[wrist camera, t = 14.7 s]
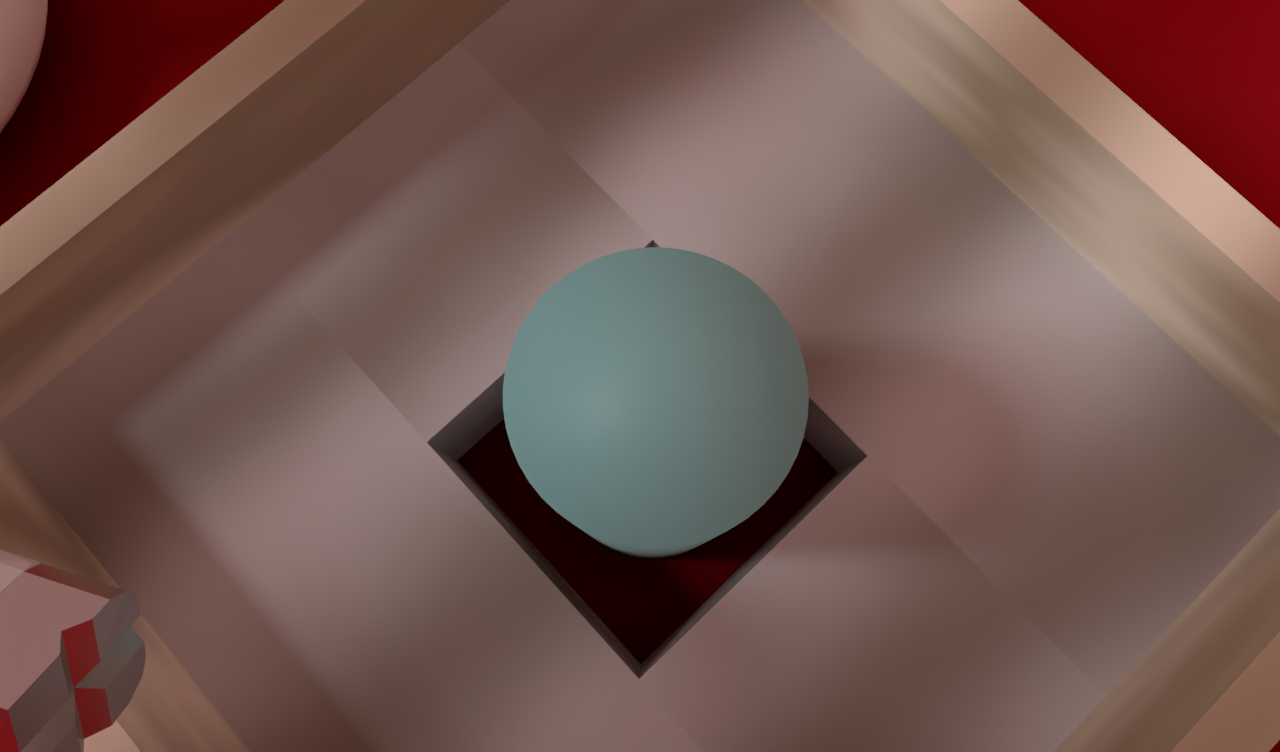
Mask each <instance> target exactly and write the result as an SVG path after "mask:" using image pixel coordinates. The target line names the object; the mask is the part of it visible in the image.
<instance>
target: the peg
mask: <svg viewBox="0 0 1280 752" xmlns="http://www.w3.org/2000/svg"><path fill="white" fill-rule="evenodd" d="M808 405H809V391H808V378H807V373H806V368H805V363H804V358H803V355H802V353H801V350H800V347H799V344H798V341H797V339H796V337H795V335H794V333H793V331H792V329H791V327H790V325H789V323H788V321H787V320H786V318H785V317H784V315H783V314H782V312H781V311H780V309H779V308H778V307H777V305H776V304H775V303H774V302H773V301H772V300H771V299H770V297H769V296H768V295H767V294H766V293H765V292H764V291H763V290H762V289H761V288H760V287H758V286H757V285H756V284H755V283H754V282H753V281H752V280H750V279H749V278H748V277H746V276H745V275H743V274H742V273H740V272H739V271H737V270H736V269H734V268H732V267H730V266H728V265H726V264H724V263H722V262H720V261H718V260H716V259H714V258H711V257H708V256H705V255H702V254H700V253H696V252H691V251H687V250H682V249H675V248H664V247H648V248H636V249H630V250H623V251H619V252H616V253H612V254H609V255H605V256H602V257H600V258H598V259H595V260H593V261H591V262H588V263H586V264H584V265H582V266H581V267H579V268H577V269H576V270H574V271H572V272H571V273H569V274H567V275H566V276H565V277H564V278H562V279H561V280H560V281H558V282H557V283H556V284H555V285H553V286H552V287H551V288H550V289H549V290H548V291H547V292H546V293H545V294H544V295H543V296H542V297H541V298H540V299H539V301H538V302H537V303H536V305H535V306H534V307H533V308H532V310H531V311H530V312H529V314H528V315H527V317H526V319H525V320H524V322H523V324H522V325H521V327H520V329H519V331H518V333H517V335H516V337H515V340H514V342H513V345H512V347H511V350H510V353H509V357H508V361H507V364H506V368H505V375H504V383H503V412H504V419H505V427H506V430H507V434H508V438H509V441H510V445H511V448H512V450H513V452H514V455H515V457H516V459H517V462H518V464H519V466H520V468H521V469H522V471H523V473H524V474H525V476H526V478H527V479H528V481H529V483H530V484H531V485H532V486H533V488H534V489H535V490H536V491H537V493H538V494H539V495H540V496H541V498H542V499H543V500H544V501H545V502H546V503H547V504H549V505H550V506H551V507H552V508H553V509H554V510H555V511H556V512H557V513H558V514H560V515H561V516H562V517H564V518H565V519H567V520H568V521H569V522H571V523H572V524H573V525H575V526H576V527H578V528H579V529H581V530H582V531H584V532H585V533H587V534H588V535H590V536H591V537H593V538H594V539H596V540H597V541H599V542H600V543H602V544H603V545H605V546H607V547H608V548H610V549H612V550H614V551H616V552H619V553H622V554H624V555H628V556H632V557H636V558H644V559H661V558H667V557H673V556H676V555H680V554H683V553H685V552H688V551H690V550H692V549H694V548H696V547H698V546H700V545H702V544H704V543H705V542H707V541H709V540H711V539H713V538H715V537H717V536H719V535H721V534H722V533H724V532H726V531H728V530H730V529H732V528H733V527H735V526H736V525H738V524H740V523H741V522H743V521H744V520H746V519H747V518H749V517H750V516H751V515H752V514H753V513H755V512H756V511H757V510H758V509H759V508H761V507H762V506H763V505H764V504H765V503H766V502H767V500H768V499H769V498H770V497H771V496H772V495H773V494H774V493H775V492H776V491H777V489H778V488H779V486H780V485H781V483H782V482H783V480H784V479H785V478H786V476H787V475H788V473H789V471H790V469H791V467H792V465H793V463H794V461H795V459H796V457H797V455H798V452H799V449H800V446H801V443H802V440H803V438H804V433H805V428H806V423H807V418H808Z"/></svg>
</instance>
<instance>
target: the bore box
mask: <svg viewBox="0 0 1280 752" xmlns="http://www.w3.org/2000/svg"><path fill="white" fill-rule="evenodd" d="M648 247H664V248H675V249H682V250H687V251H691V252H696V253H700V254H702V255H705V256H708V257H711V258H714V259H716V260H718V261H720V262H722V263H724V264H726V265H728V266H730V267H732V268H734V269H736V270H737V271H739V272H740V273H742V274H743V275H745V276H746V277H748V278H749V279H750V280H752V281H753V282H754V283H755V284H756V285H757V286H758V287H760V288H761V289H762V290H763V291H764V292H765V293H766V294H767V295H768V296H769V297H770V299H771V300H772V301H773V302H774V303H775V304H776V305H777V307H778V308H779V309H780V311H781V312H782V314H783V315H784V317H785V318H786V320H787V321H788V323H789V325H790V327H791V329H792V331H793V333H794V335H795V337H796V339H797V341H798V344H799V347H800V350H801V353H802V355H803V358H804V363H805V368H806V373H807V378H808V391H809V405H808V418H807V423H806V428H805V433H804V439H805V440H806V441H807V442H808V443H809V444H810V445H811V446H812V447H813V448H814V449H815V450H816V451H817V452H818V453H819V454H820V455H821V456H822V457H823V458H824V459H825V460H826V461H827V462H828V463H829V464H830V465H831V466H832V467H833V468H834V469H835V470H836V471H837V473H836V474H835V475H834V476H833V477H832V478H831V479H830V480H829V481H828V482H827V483H826V484H825V485H824V486H823V487H822V488H821V489H820V490H819V491H818V492H817V493H816V494H815V495H814V496H813V497H812V498H811V499H810V500H809V501H808V502H807V503H806V504H805V505H804V506H803V507H802V508H800V509H799V510H798V511H797V512H796V513H795V514H794V515H793V516H792V517H791V518H790V519H789V520H788V521H787V522H786V523H785V524H784V525H783V526H782V527H781V528H780V529H779V530H778V531H777V532H776V533H775V534H774V535H773V536H772V537H771V538H770V539H769V540H768V541H767V542H766V543H765V544H764V545H763V546H761V547H760V548H759V549H758V550H757V551H756V552H755V553H754V554H753V555H752V556H751V557H750V558H749V559H748V560H747V561H746V562H745V563H744V564H743V565H742V566H741V567H740V568H739V569H738V570H737V571H736V572H735V573H734V574H733V575H732V576H731V577H730V578H729V579H728V580H727V581H726V582H725V583H724V584H722V585H721V586H720V587H719V588H718V589H717V590H716V591H715V592H714V593H713V594H712V595H711V596H710V597H709V598H708V599H707V600H706V601H705V602H704V603H703V604H702V605H701V606H700V607H699V608H698V609H697V610H696V611H695V612H694V613H693V614H692V615H691V616H690V617H689V618H688V619H687V620H686V621H685V622H683V623H682V624H681V625H680V626H679V627H678V628H677V629H676V630H675V631H674V632H673V633H672V634H671V635H670V636H669V637H668V638H667V639H666V640H665V641H664V642H663V643H662V644H661V645H660V646H659V647H658V648H657V649H656V650H655V651H654V652H653V653H652V654H651V655H650V656H649V657H648V658H647V659H646V660H644V661H643V662H642V663H641V664H640V663H639V662H638V660H637V659H636V658H635V657H634V656H633V655H632V654H631V653H630V652H629V650H628V649H627V648H626V647H625V646H624V645H623V644H622V643H621V642H620V640H619V639H618V638H617V637H616V636H615V635H614V634H613V633H612V632H611V630H610V629H609V628H608V627H607V626H606V625H605V624H604V623H603V622H602V620H601V619H600V618H599V617H598V616H597V615H596V614H595V613H594V612H593V610H592V609H591V608H590V607H589V606H588V605H587V604H586V603H585V602H584V600H583V599H582V598H581V597H580V596H579V595H578V594H577V593H576V592H575V590H574V589H573V588H572V587H571V586H570V585H569V584H568V583H567V582H566V580H565V579H564V578H563V577H562V576H561V575H560V574H559V573H558V572H557V570H556V569H555V568H554V567H553V566H552V565H551V564H550V563H549V562H548V560H547V559H546V558H545V557H544V556H543V555H542V554H541V553H540V552H539V550H538V549H537V548H536V547H535V546H534V545H533V544H532V543H531V542H530V540H529V539H528V538H527V537H526V536H525V535H524V534H523V533H522V532H521V530H520V529H519V528H518V527H517V526H516V525H515V524H514V523H513V522H512V520H511V519H510V518H509V517H508V516H507V515H506V514H505V513H504V512H503V510H502V509H501V508H500V507H499V506H498V505H497V504H496V503H495V502H494V500H493V499H492V498H491V497H490V496H489V495H488V494H487V493H486V492H485V490H484V489H483V488H482V487H481V486H480V485H479V484H478V483H477V482H476V480H475V479H474V478H473V477H472V476H471V475H470V474H469V473H468V472H467V470H466V469H465V468H464V467H463V466H462V465H461V464H460V463H459V462H458V460H459V459H460V458H461V457H462V456H463V455H464V454H465V453H466V452H467V451H469V450H470V449H471V448H472V447H473V446H474V445H475V444H476V443H477V442H478V441H480V440H481V439H482V438H483V437H484V436H485V435H486V434H487V433H488V432H490V431H491V430H492V429H493V428H494V427H495V426H496V425H497V424H498V423H499V422H501V421H502V420H503V419H504V412H503V383H504V375H505V368H506V364H507V361H508V357H509V353H510V350H511V347H512V345H513V342H514V340H515V337H516V335H517V333H518V331H519V329H520V327H521V325H522V324H523V322H524V320H525V319H526V317H527V315H528V314H529V312H530V311H531V310H532V308H533V307H534V306H535V305H536V303H537V302H538V301H539V299H540V298H541V297H542V296H543V295H544V294H545V293H546V292H547V291H548V290H549V289H550V288H551V287H552V286H553V285H555V284H556V283H557V282H558V281H560V280H561V279H562V278H564V277H565V276H566V275H567V274H569V273H571V272H572V271H574V270H576V269H577V268H579V267H581V266H582V265H584V264H586V263H588V262H591V261H593V260H595V259H598V258H600V257H602V256H605V255H609V254H612V253H616V252H619V251H623V250H630V249H636V248H648ZM0 550H4V551H7V552H10V553H13V554H16V555H20V556H23V557H26V558H29V559H33V560H36V561H39V562H42V563H45V564H48V565H49V566H52V567H55V568H59V569H62V570H65V571H68V572H71V573H74V574H77V575H80V576H83V577H86V578H89V579H92V580H95V581H98V582H101V583H105V584H108V585H111V586H114V587H117V588H120V589H123V590H126V591H129V592H132V593H135V594H136V595H137V600H138V605H139V610H140V614H141V615H140V616H139V617H138V618H137V619H136V620H135V622H134V623H133V624H132V625H131V626H132V628H133V629H134V630H135V631H136V632H137V634H138V635H139V636H140V637H141V638H142V640H143V641H144V644H145V652H146V660H145V665H144V671H143V676H142V678H141V680H140V682H139V684H138V686H137V688H136V691H135V693H134V695H133V697H132V699H131V701H130V703H129V704H128V705H127V707H126V708H125V709H124V711H123V712H122V713H121V714H120V716H119V717H118V718H117V720H116V721H115V722H114V724H113V725H112V726H110V727H108V728H106V729H104V730H102V731H100V732H98V733H96V734H94V735H92V736H89V737H87V738H85V739H84V752H1269V751H1270V750H1271V749H1272V748H1273V747H1274V746H1275V745H1276V744H1277V742H1278V741H1279V740H1280V229H1279V228H1278V227H1277V226H1276V225H1274V224H1273V223H1272V222H1271V221H1270V220H1269V219H1268V218H1266V217H1265V216H1264V215H1263V214H1262V213H1261V212H1260V211H1258V210H1257V209H1256V208H1255V207H1254V206H1253V205H1252V204H1250V203H1249V202H1248V201H1247V200H1246V199H1245V198H1244V197H1242V196H1241V195H1240V194H1239V193H1238V192H1237V191H1236V190H1234V189H1233V188H1232V187H1231V186H1230V185H1229V184H1228V183H1226V182H1225V181H1224V180H1223V179H1222V178H1221V177H1220V176H1218V175H1217V174H1216V173H1215V172H1214V171H1213V170H1212V169H1210V168H1209V167H1208V166H1207V165H1206V164H1205V163H1204V162H1202V161H1201V160H1200V159H1199V158H1198V157H1197V156H1196V155H1194V154H1193V153H1192V152H1191V151H1190V150H1189V149H1187V148H1186V147H1185V146H1184V145H1183V144H1182V143H1181V142H1179V141H1178V140H1177V139H1176V138H1175V137H1174V136H1173V135H1171V134H1170V133H1169V132H1168V131H1167V130H1166V129H1165V128H1163V127H1162V126H1161V125H1160V124H1159V123H1158V122H1157V121H1155V120H1154V119H1153V118H1152V117H1151V116H1150V115H1149V114H1147V113H1146V112H1145V111H1144V110H1143V109H1142V108H1141V107H1139V106H1138V105H1137V104H1136V103H1135V102H1134V101H1133V100H1131V99H1130V98H1129V97H1128V96H1127V95H1126V94H1125V93H1123V92H1122V91H1121V90H1120V89H1119V88H1118V87H1117V86H1115V85H1114V84H1113V83H1112V82H1111V81H1110V80H1109V79H1107V78H1106V77H1105V76H1104V75H1103V74H1102V73H1100V72H1099V71H1098V70H1097V69H1096V68H1095V67H1094V66H1092V65H1091V64H1090V63H1089V62H1088V61H1087V60H1086V59H1084V58H1083V57H1082V56H1081V55H1080V54H1079V53H1078V52H1076V51H1075V50H1074V49H1073V48H1072V47H1071V46H1070V45H1068V44H1067V43H1066V42H1065V41H1064V40H1063V39H1062V38H1060V37H1059V36H1058V35H1057V34H1056V33H1055V32H1054V31H1052V30H1051V29H1050V28H1049V27H1048V26H1047V25H1046V24H1044V23H1043V22H1042V21H1041V20H1040V19H1039V18H1038V17H1036V16H1035V15H1034V14H1033V13H1032V12H1031V11H1030V10H1028V9H1027V8H1026V7H1025V6H1024V5H1023V4H1021V3H1020V2H1019V1H1018V0H285V1H283V2H282V3H281V4H280V5H278V6H277V7H276V8H275V9H273V10H272V11H271V12H270V13H268V14H267V15H266V16H265V17H263V18H262V19H261V20H260V21H258V22H257V23H256V24H254V25H253V26H252V27H251V28H249V29H248V30H247V31H246V32H244V33H243V34H242V35H241V36H239V37H238V38H237V39H236V40H234V41H233V42H232V43H231V44H229V45H228V46H227V47H226V48H224V49H223V50H222V51H221V52H219V53H218V54H217V55H215V56H214V57H213V58H212V59H210V60H209V61H208V62H207V63H205V64H204V65H203V66H202V67H200V68H199V69H198V70H197V71H195V72H194V73H193V74H192V75H190V76H189V77H188V78H187V79H185V80H184V81H183V82H182V83H180V84H179V85H178V86H176V87H175V88H174V89H173V90H171V91H170V92H169V93H168V94H166V95H165V96H164V97H163V98H161V99H160V100H159V101H158V102H156V103H155V104H154V105H153V106H151V107H150V108H149V109H148V110H146V111H145V112H144V113H143V114H141V115H140V116H139V117H137V118H136V119H135V120H134V121H132V122H131V123H130V124H129V125H127V126H126V127H125V128H124V129H122V130H121V131H120V132H119V133H117V134H116V135H115V136H114V137H112V138H111V139H110V140H109V141H107V142H106V143H105V144H104V145H102V146H101V147H100V148H98V149H97V150H96V151H95V152H93V153H92V154H91V155H90V156H88V157H87V158H86V159H85V160H83V161H82V162H81V163H80V164H78V165H77V166H76V167H75V168H73V169H72V170H71V171H70V172H68V173H67V174H66V175H64V176H63V177H62V178H61V179H59V180H58V181H57V182H56V183H54V184H53V185H52V186H51V187H49V188H48V189H47V190H46V191H44V192H43V193H42V194H41V195H39V196H38V197H37V198H36V199H34V200H33V201H32V202H31V203H29V204H28V205H27V206H25V207H24V208H23V209H22V210H20V211H19V212H18V213H17V214H15V215H14V216H13V217H12V218H10V219H9V220H8V221H7V222H5V223H4V224H3V225H2V226H0Z"/></svg>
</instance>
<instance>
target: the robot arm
mask: <svg viewBox="0 0 1280 752" xmlns="http://www.w3.org/2000/svg"><path fill="white" fill-rule="evenodd" d="M140 615H141V614H140V610H139V605H138V600H137V595H136V594H135V593H132V592H129V591H126V590H123V589H120V588H117V587H114V586H111V585H108V584H105V583H101V582H98V581H95V580H92V579H89V578H86V577H83V576H80V575H77V574H74V573H71V572H68V571H65V570H62V569H59V568H55V567H52V566H49V565H48V564H45V563H42V562H39V561H36V560H33V559H29V558H26V557H23V556H20V555H16V554H13V553H10V552H7V551H4V550H0V752H84V739H85V738H87V737H89V736H92V735H94V734H96V733H98V732H100V731H102V730H104V729H106V728H108V727H110V726H112V725H113V724H114V722H115V721H116V720H117V718H118V717H119V716H120V714H121V713H122V712H123V711H124V709H125V708H126V707H127V705H128V704H129V703H130V701H131V699H132V697H133V695H134V693H135V691H136V688H137V686H138V684H139V682H140V680H141V678H142V676H143V671H144V665H145V660H146V652H145V644H144V641H143V640H142V638H141V637H140V636H139V635H138V634H137V632H136V631H135V630H134V629H133V628H132V626H131V625H132V624H133V623H134V622H135V620H136V619H137V618H138V617H139V616H140Z"/></svg>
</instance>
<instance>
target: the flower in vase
mask: <svg viewBox="0 0 1280 752" xmlns="http://www.w3.org/2000/svg"><path fill="white" fill-rule="evenodd" d="M47 11H48V0H0V133H1V131H2V130H3V129H4V127H5V126H6V124H7V123H8V122H9V120H10V119H11V117H12V116H13V115H14V113H15V111H16V109H17V107H18V105H19V104H20V102H21V100H22V98H23V96H24V94H25V93H26V91H27V89H28V86H29V84H30V81H31V79H32V76H33V74H34V71H35V69H36V66H37V64H38V61H39V57H40V53H41V49H42V45H43V41H44V38H45V31H46V21H47Z"/></svg>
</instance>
